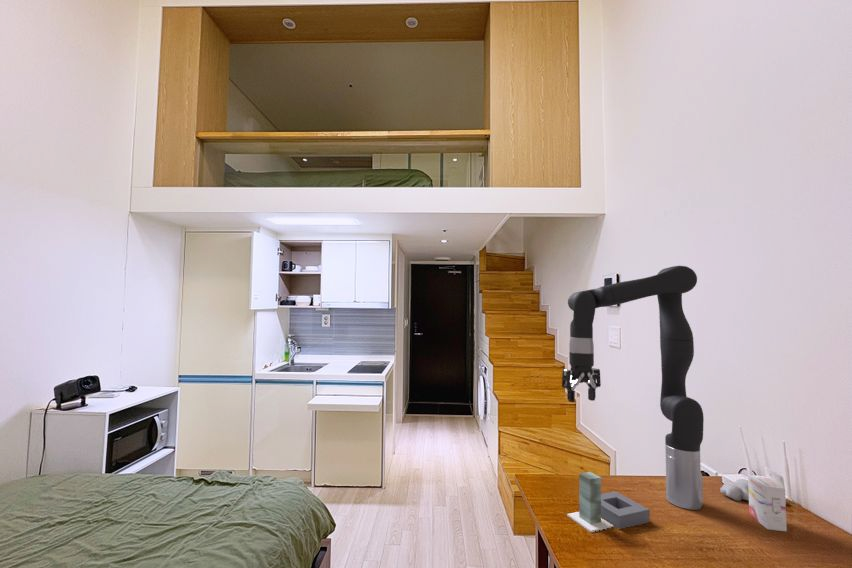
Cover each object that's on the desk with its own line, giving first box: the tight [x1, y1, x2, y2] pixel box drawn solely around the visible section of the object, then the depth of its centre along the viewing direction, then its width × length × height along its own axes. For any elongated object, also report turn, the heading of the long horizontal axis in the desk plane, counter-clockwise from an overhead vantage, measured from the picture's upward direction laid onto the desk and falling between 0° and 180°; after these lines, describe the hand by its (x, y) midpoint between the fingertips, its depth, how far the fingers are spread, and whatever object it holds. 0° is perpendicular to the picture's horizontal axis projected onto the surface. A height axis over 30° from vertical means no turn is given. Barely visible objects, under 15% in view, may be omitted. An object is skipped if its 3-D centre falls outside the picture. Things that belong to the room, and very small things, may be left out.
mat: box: [566, 511, 614, 534], centre depth 107 cm, size 8×9×1 cm
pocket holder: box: [601, 490, 650, 530], centre depth 111 cm, size 12×12×4 cm
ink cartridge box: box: [747, 465, 788, 532], centre depth 110 cm, size 9×5×15 cm, turn 168°
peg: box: [578, 471, 602, 524], centre depth 108 cm, size 4×4×12 cm
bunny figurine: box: [719, 478, 749, 502], centre depth 125 cm, size 10×5×15 cm
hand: (581, 401), depth 125 cm, fingers open, 8 cm apart
